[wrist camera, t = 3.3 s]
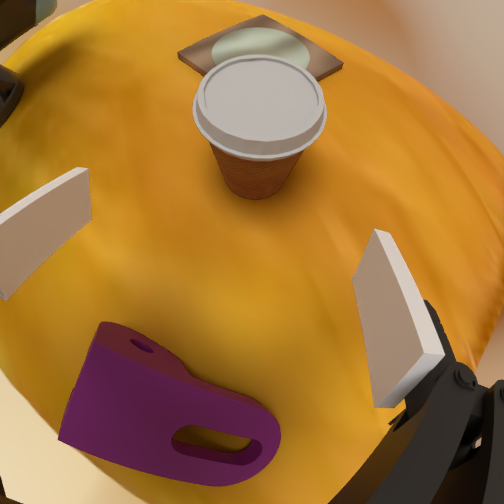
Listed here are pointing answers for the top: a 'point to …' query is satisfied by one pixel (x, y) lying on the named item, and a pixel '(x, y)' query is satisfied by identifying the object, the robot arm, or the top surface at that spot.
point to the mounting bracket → (160, 413)
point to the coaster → (260, 47)
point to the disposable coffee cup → (258, 120)
